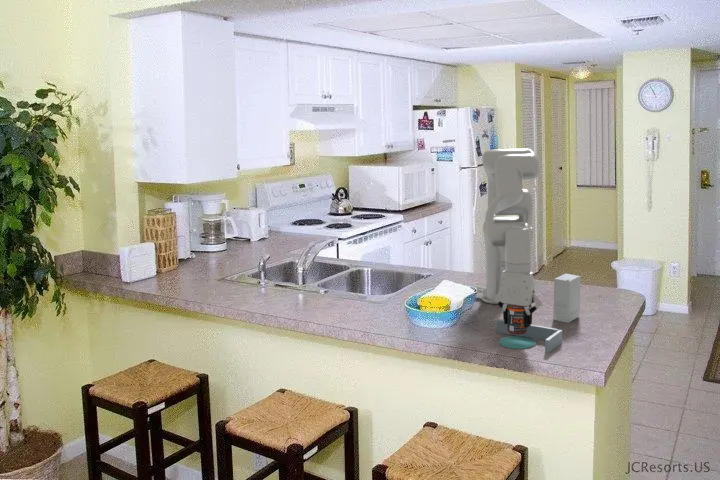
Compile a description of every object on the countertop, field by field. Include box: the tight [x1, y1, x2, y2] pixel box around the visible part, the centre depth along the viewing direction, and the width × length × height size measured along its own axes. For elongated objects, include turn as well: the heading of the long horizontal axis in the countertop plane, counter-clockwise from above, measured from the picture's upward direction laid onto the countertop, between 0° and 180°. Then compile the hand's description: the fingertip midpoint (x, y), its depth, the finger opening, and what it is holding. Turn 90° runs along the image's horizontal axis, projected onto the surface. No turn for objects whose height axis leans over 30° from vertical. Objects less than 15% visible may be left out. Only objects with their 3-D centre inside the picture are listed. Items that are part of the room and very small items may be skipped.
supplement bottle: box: [507, 304, 527, 336], centre depth 211 cm, size 6×6×11 cm
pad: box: [498, 335, 537, 350], centre depth 212 cm, size 11×11×1 cm
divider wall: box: [496, 319, 563, 354], centre depth 213 cm, size 22×12×4 cm, turn 53°
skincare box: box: [552, 273, 582, 324], centre depth 233 cm, size 8×6×15 cm
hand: (517, 324), depth 211 cm, fingers closed on supplement bottle, 6 cm apart
